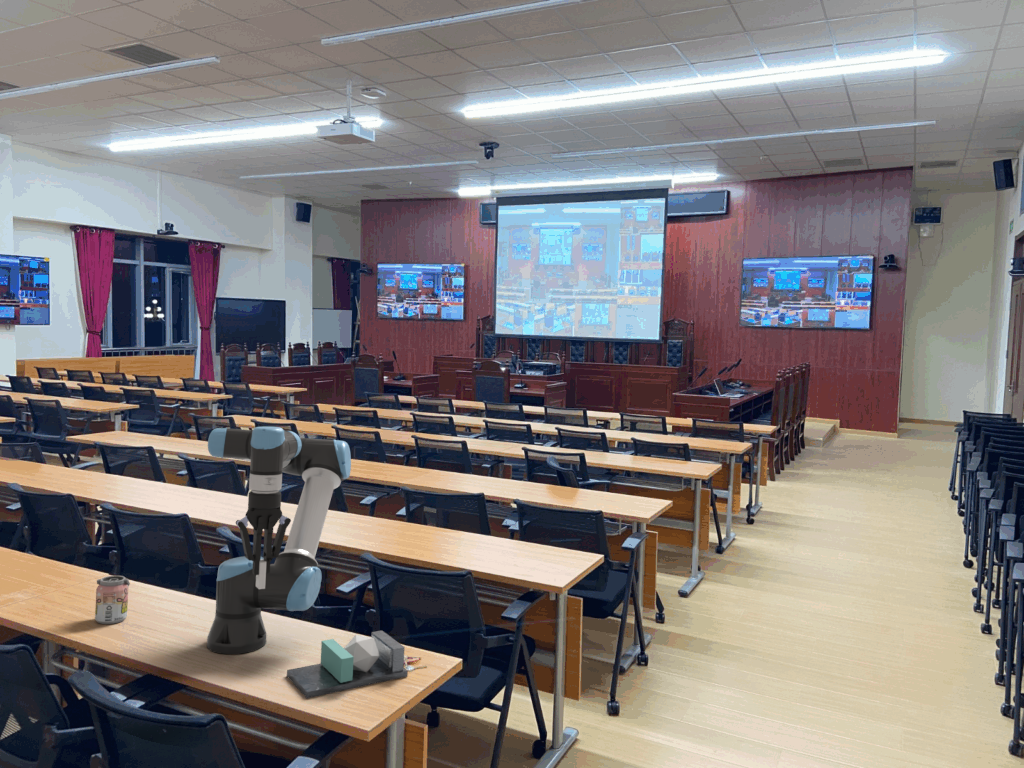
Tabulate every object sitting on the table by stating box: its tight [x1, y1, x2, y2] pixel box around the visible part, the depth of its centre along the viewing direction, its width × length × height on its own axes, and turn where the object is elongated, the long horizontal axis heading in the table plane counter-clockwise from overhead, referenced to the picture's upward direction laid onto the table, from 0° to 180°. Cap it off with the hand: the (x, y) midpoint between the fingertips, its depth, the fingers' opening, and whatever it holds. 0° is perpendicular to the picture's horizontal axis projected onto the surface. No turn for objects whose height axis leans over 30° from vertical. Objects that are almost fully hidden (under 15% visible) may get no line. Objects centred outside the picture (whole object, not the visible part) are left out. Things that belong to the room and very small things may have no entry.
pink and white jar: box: [94, 575, 131, 625], centre depth 213 cm, size 9×8×12 cm
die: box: [343, 634, 380, 672], centre depth 186 cm, size 8×9×10 cm
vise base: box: [286, 630, 409, 699], centre depth 184 cm, size 14×26×8 cm, turn 125°
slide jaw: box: [320, 638, 354, 683], centre depth 182 cm, size 13×3×6 cm, turn 35°
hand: (260, 587), depth 179 cm, fingers closed
